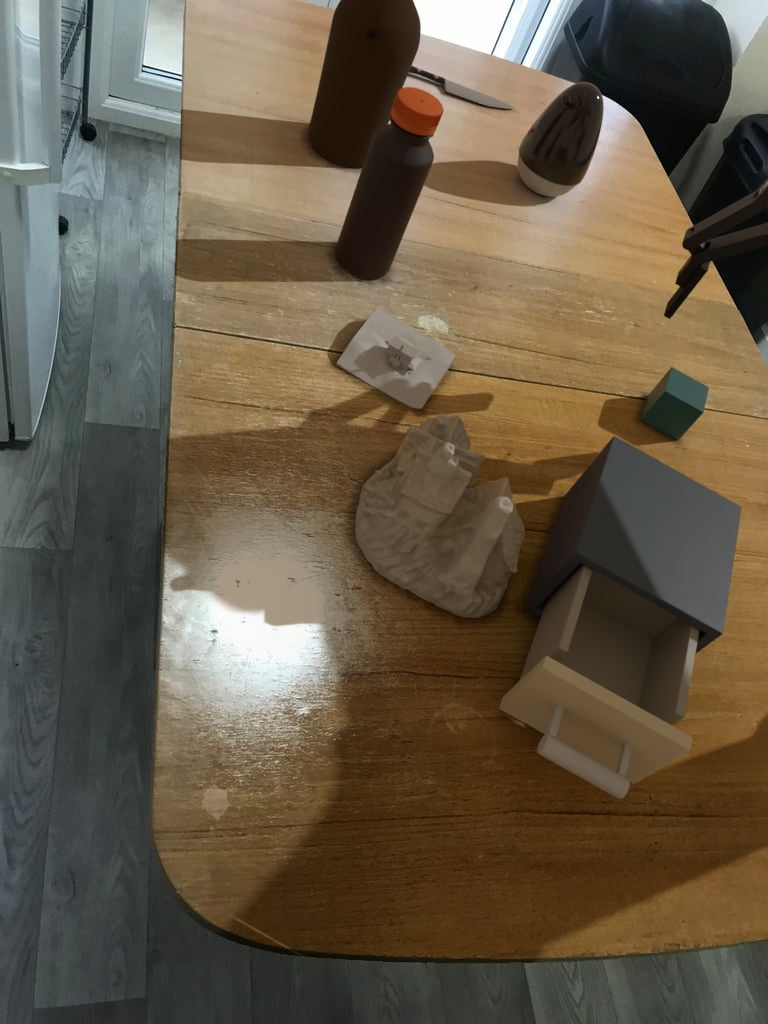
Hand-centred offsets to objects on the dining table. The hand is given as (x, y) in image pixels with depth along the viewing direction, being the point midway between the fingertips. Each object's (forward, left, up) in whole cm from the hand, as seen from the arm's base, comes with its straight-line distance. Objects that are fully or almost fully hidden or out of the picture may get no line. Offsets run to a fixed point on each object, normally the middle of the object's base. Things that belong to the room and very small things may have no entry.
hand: (724, 342), depth 89 cm
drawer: (0, +41, -12) cm, 43 cm away
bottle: (+39, +1, -13) cm, 42 cm away
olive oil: (+51, -19, -13) cm, 56 cm away
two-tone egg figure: (+26, -36, -13) cm, 46 cm away
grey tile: (+29, +14, -13) cm, 35 cm away
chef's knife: (+44, -49, -13) cm, 67 cm away
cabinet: (0, +27, -13) cm, 30 cm away
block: (-1, -1, -13) cm, 13 cm away
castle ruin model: (+17, +32, -13) cm, 39 cm away
